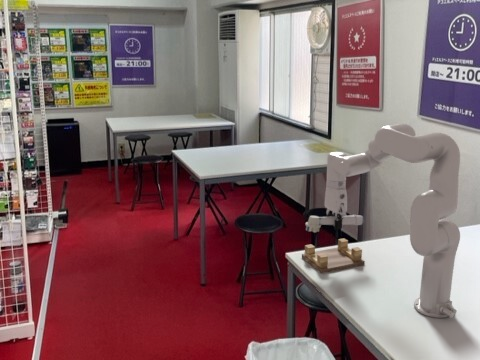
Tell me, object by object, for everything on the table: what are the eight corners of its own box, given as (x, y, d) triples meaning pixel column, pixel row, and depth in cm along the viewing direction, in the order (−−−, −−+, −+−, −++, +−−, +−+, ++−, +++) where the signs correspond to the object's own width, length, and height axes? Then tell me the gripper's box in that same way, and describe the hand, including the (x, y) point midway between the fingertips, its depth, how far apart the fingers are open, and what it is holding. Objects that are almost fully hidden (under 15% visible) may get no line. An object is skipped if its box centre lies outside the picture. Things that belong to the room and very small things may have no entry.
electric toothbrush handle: (365, 217, 206) (310, 216, 198) (363, 232, 208) (308, 232, 199) (359, 213, 211) (304, 212, 203) (356, 228, 213) (302, 228, 204)
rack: (364, 264, 206) (365, 250, 205) (321, 273, 199) (322, 259, 198) (342, 249, 221) (343, 236, 219) (301, 257, 213) (302, 244, 212)
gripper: (356, 188, 195) (354, 232, 200) (332, 177, 210) (330, 218, 215) (339, 190, 192) (337, 235, 197) (316, 179, 207) (315, 221, 212)
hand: (334, 226), depth 206 cm, fingers closed on electric toothbrush handle, 5 cm apart
